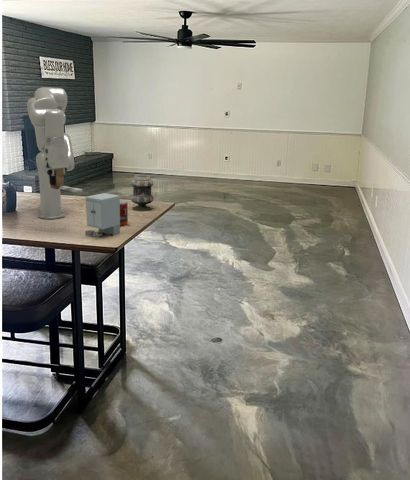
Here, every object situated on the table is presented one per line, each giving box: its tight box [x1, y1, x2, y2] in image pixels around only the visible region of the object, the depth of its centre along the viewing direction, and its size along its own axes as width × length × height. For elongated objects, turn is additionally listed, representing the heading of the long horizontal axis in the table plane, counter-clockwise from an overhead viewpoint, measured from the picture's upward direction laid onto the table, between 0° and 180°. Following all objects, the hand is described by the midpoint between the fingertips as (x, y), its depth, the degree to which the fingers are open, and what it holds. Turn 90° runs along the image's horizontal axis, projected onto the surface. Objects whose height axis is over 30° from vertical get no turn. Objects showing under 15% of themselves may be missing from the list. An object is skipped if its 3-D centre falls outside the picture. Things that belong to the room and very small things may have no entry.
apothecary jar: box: [130, 174, 154, 212], centre depth 260 cm, size 12×12×18 cm
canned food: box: [120, 199, 129, 227], centre depth 229 cm, size 8×8×11 cm
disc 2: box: [92, 231, 103, 239], centre depth 209 cm, size 4×4×2 cm
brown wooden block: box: [51, 168, 83, 194], centre depth 205 cm, size 16×4×10 cm, turn 58°
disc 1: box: [84, 229, 96, 237], centre depth 212 cm, size 4×4×2 cm
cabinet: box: [85, 192, 121, 236], centre depth 211 cm, size 9×12×17 cm
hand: (57, 183), depth 209 cm, fingers closed on brown wooden block, 4 cm apart
